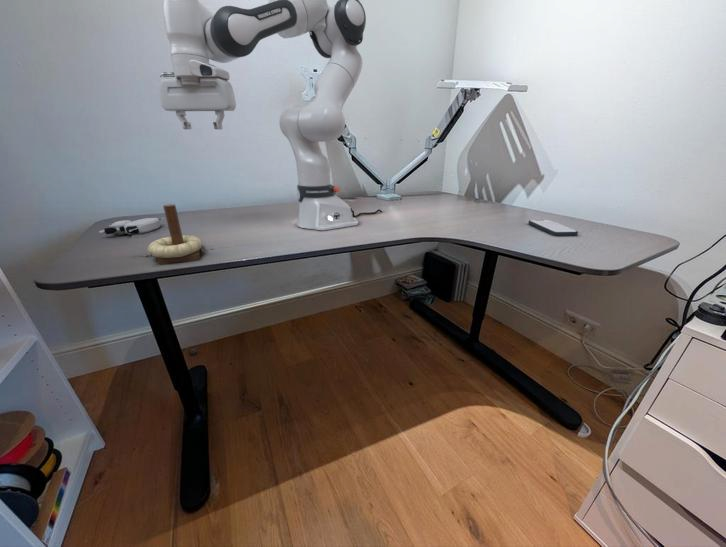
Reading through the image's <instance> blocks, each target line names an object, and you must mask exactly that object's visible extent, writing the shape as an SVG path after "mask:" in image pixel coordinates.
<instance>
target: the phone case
mask: <svg viewBox="0 0 726 547" xmlns="http://www.w3.org/2000/svg"><path fill="white" fill-rule="evenodd" d="M527 224H528V225H529V226H532V227H534V228H536V229H538V230H541V231H542V232H545V233H547V234H549V235H551V236H554V237H573V236H574V237H576V236H578V234H579V231H578V230H576V229H573V228H571V227H568V226H566V225H563V224H561V223H558V222H556V221H553V220H551V219H529V220H528V223H527Z"/></svg>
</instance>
